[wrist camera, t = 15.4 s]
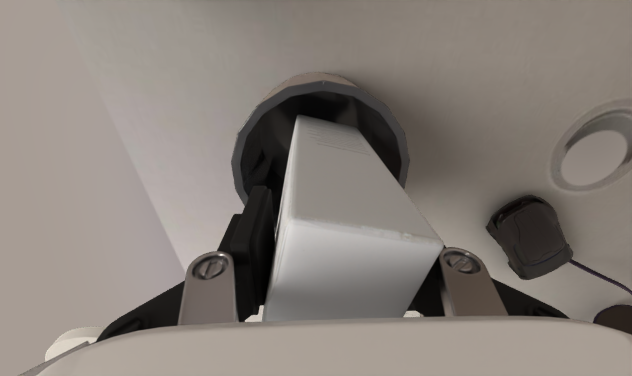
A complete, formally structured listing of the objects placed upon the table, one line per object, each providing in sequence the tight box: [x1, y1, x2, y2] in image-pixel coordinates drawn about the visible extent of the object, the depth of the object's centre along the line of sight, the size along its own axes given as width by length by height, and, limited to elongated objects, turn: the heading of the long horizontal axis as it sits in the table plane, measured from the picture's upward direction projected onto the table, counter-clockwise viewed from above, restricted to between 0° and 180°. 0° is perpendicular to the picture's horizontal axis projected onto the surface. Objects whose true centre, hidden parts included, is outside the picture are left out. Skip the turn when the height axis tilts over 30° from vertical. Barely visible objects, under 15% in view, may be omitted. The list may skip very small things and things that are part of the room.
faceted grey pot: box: [231, 72, 410, 234], centre depth 19 cm, size 11×11×8 cm
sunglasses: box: [568, 259, 632, 335], centre depth 32 cm, size 14×16×5 cm
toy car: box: [486, 195, 573, 280], centre depth 26 cm, size 6×12×4 cm, turn 40°
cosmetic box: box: [262, 115, 444, 322], centre depth 12 cm, size 6×4×12 cm
